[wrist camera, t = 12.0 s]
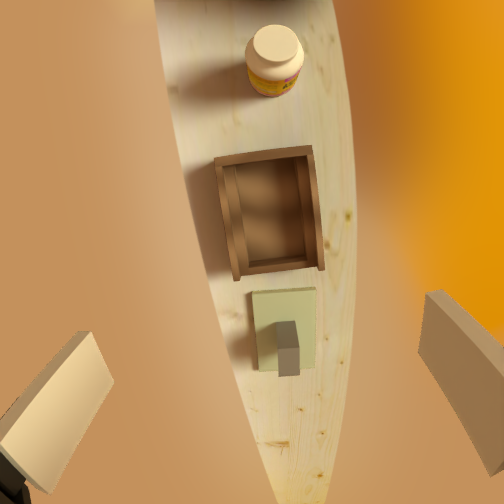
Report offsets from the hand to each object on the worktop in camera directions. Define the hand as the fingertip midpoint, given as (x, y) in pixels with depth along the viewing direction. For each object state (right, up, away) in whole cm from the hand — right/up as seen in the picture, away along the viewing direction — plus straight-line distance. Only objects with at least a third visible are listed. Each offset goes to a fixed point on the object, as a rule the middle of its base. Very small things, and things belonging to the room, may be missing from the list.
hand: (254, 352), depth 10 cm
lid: (+5, -9, +38) cm, 39 cm away
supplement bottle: (+3, +28, +27) cm, 39 cm away
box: (+3, +10, +32) cm, 34 cm away
